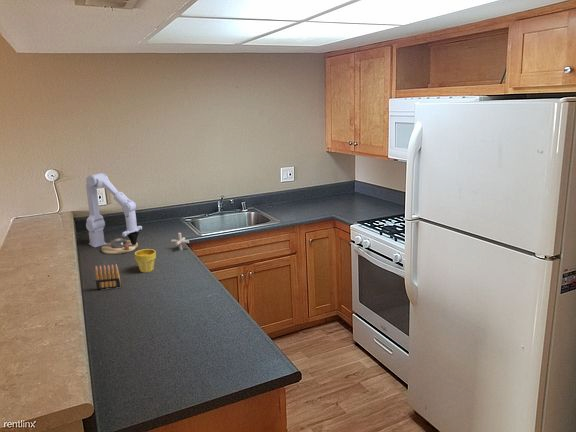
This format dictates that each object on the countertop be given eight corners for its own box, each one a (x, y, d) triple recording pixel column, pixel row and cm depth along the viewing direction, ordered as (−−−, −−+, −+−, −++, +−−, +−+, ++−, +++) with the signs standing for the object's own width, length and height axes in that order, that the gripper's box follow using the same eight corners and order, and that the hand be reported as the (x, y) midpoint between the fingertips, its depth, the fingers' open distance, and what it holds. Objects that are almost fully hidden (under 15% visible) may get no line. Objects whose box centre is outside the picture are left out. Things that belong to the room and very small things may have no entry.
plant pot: (161, 267, 235) (159, 250, 232) (148, 275, 226) (145, 256, 223) (146, 265, 239) (144, 247, 237) (132, 272, 230) (129, 254, 228)
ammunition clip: (121, 286, 214) (118, 262, 211) (120, 288, 212) (117, 264, 209) (97, 288, 212) (94, 265, 209) (96, 290, 210) (93, 266, 207)
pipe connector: (185, 253, 255) (184, 236, 253) (169, 252, 257) (167, 235, 254) (192, 247, 265) (191, 230, 262) (176, 246, 267) (175, 230, 264)
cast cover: (114, 243, 269) (113, 237, 268) (129, 243, 269) (128, 236, 268) (108, 248, 260) (107, 242, 259) (124, 248, 260) (123, 241, 259)
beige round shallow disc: (109, 242, 275) (108, 235, 273) (142, 242, 275) (141, 235, 273) (96, 254, 255) (94, 247, 254) (131, 253, 255) (130, 246, 254)
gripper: (128, 226, 252) (130, 249, 255) (145, 219, 265) (147, 241, 268) (118, 225, 254) (121, 247, 258) (135, 218, 267) (138, 240, 271)
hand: (134, 244), depth 263 cm, fingers closed
